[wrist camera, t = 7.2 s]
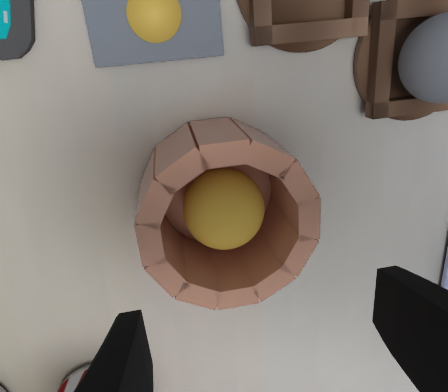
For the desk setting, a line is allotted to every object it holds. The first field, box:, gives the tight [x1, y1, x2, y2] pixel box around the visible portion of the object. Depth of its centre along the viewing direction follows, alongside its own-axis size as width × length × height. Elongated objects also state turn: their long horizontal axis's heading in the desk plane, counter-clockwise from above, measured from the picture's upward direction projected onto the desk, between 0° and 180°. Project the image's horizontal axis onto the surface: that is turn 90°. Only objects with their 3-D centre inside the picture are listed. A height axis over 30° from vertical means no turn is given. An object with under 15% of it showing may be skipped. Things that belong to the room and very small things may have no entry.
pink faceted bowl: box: [134, 117, 321, 310], centre depth 18 cm, size 8×8×5 cm
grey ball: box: [398, 12, 448, 104], centre depth 17 cm, size 4×4×4 cm
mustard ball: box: [183, 168, 265, 250], centre depth 18 cm, size 4×4×4 cm
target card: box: [82, 0, 224, 68], centre depth 16 cm, size 6×4×1 cm, turn 95°
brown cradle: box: [354, 0, 448, 120], centre depth 19 cm, size 6×6×1 cm
